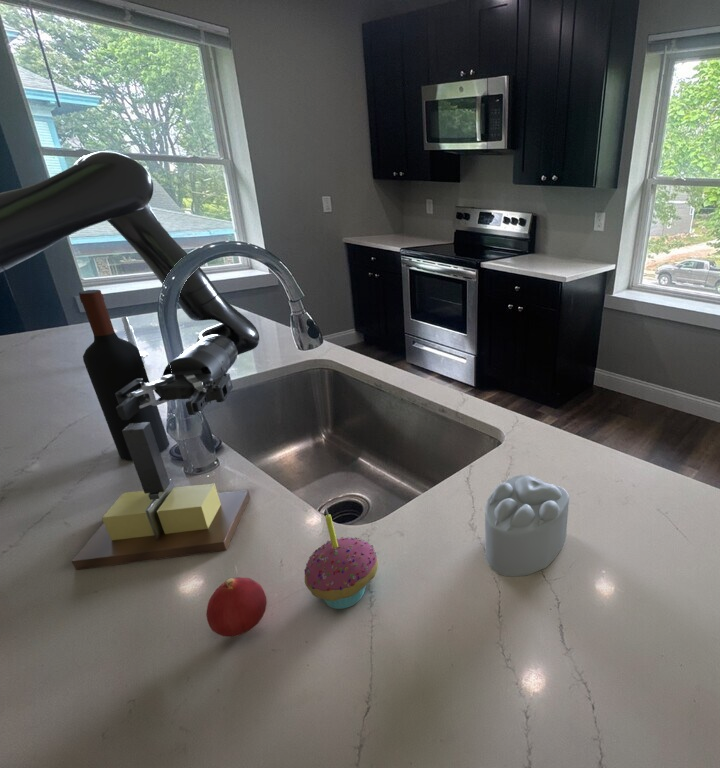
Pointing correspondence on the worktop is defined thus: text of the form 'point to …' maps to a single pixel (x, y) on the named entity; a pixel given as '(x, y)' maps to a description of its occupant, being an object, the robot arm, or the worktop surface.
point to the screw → (132, 336)
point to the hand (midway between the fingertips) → (156, 411)
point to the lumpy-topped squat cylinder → (525, 525)
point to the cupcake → (340, 569)
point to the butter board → (166, 539)
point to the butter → (163, 512)
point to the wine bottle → (116, 373)
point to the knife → (149, 469)
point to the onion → (236, 607)
